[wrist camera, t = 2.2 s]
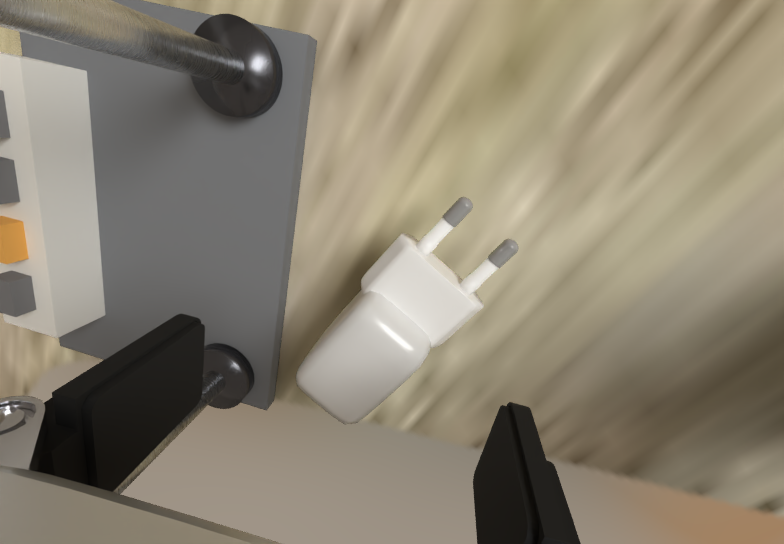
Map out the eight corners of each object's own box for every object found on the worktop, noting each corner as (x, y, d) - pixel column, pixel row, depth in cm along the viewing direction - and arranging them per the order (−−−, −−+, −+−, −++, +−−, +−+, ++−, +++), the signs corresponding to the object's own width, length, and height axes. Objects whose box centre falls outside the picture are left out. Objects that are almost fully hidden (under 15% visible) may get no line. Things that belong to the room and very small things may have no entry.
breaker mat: (317, 40, 17) (262, 2, 12) (273, 400, 25) (229, 460, 20) (34, -18, 19) (-109, -72, 14) (74, 338, 26) (-11, 380, 21)
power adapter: (451, 174, 18) (445, 186, 13) (523, 240, 18) (548, 281, 13) (320, 320, 22) (273, 378, 17) (382, 372, 22) (356, 446, 17)
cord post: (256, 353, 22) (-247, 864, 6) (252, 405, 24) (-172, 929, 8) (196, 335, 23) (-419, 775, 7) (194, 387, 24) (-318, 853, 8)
